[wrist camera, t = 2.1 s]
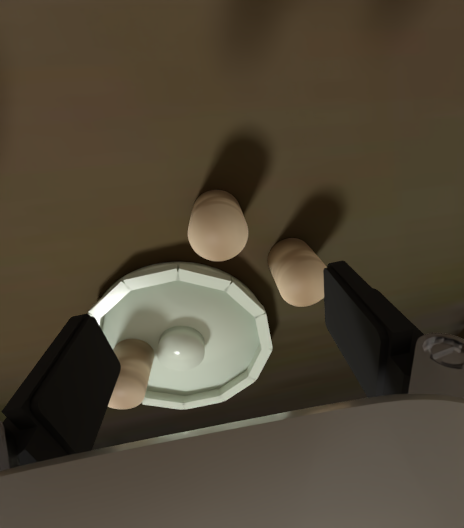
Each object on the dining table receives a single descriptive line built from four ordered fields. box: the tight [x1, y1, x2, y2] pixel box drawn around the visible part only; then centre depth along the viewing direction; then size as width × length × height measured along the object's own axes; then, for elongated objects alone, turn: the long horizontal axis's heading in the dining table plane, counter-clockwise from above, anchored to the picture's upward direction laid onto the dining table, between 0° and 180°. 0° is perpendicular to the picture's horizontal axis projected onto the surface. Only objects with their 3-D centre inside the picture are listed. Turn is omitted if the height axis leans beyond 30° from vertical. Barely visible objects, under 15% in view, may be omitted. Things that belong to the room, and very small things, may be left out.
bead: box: [108, 339, 154, 409], centre depth 27 cm, size 4×4×5 cm
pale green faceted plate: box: [88, 262, 272, 410], centre depth 29 cm, size 19×19×2 cm
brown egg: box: [267, 238, 327, 307], centre depth 24 cm, size 4×4×5 cm
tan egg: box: [188, 189, 248, 261], centre depth 21 cm, size 4×4×5 cm
